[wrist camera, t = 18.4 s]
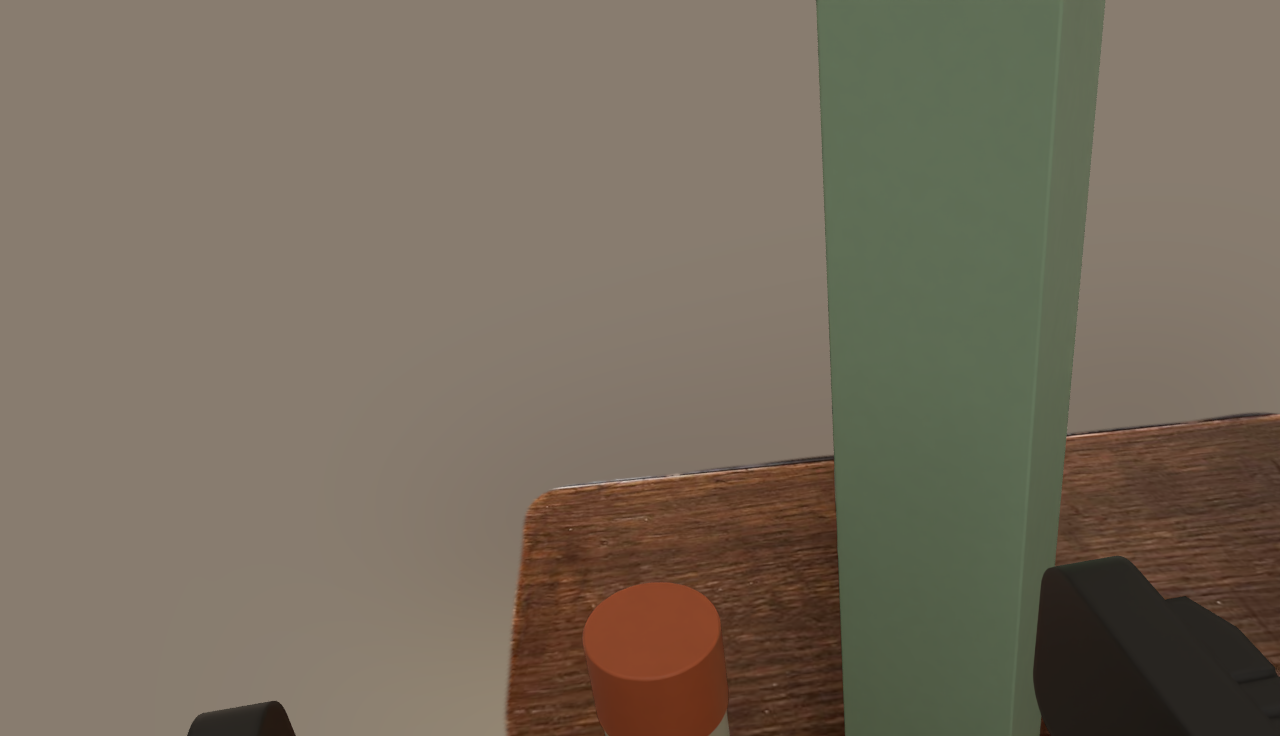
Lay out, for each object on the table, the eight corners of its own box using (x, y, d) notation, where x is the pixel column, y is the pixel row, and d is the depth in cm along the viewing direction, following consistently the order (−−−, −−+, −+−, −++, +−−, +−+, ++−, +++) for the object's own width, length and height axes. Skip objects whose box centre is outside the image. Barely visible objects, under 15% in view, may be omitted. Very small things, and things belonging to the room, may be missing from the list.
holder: (1028, 913, 29) (1147, -371, 15) (807, 823, 33) (731, -286, 19) (1074, 741, 35) (1198, -343, 20) (879, 679, 38) (863, -280, 24)
